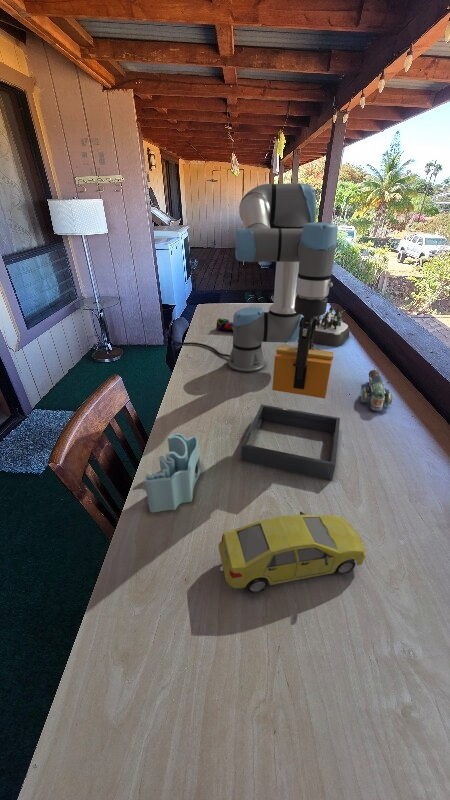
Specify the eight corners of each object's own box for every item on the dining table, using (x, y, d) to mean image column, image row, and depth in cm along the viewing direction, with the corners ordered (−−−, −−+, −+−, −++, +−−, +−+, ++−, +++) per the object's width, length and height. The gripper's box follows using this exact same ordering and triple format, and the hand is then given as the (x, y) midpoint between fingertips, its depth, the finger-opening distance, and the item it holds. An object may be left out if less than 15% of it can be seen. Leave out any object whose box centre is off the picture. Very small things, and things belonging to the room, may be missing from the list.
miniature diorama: (351, 335, 176) (358, 301, 168) (339, 348, 162) (346, 311, 153) (313, 327, 186) (318, 295, 177) (299, 339, 171) (303, 304, 162)
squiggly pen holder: (190, 515, 79) (188, 484, 74) (148, 512, 80) (142, 482, 75) (202, 462, 94) (201, 434, 90) (166, 459, 95) (163, 432, 90)
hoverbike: (360, 410, 116) (365, 389, 112) (358, 377, 136) (362, 358, 132) (391, 415, 114) (398, 393, 109) (384, 380, 134) (390, 361, 130)
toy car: (372, 576, 66) (385, 542, 61) (229, 608, 61) (229, 574, 56) (341, 525, 76) (350, 492, 71) (216, 549, 71) (215, 516, 66)
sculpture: (273, 329, 171) (216, 320, 178) (272, 339, 173) (215, 329, 180) (276, 326, 179) (221, 317, 186) (275, 335, 181) (220, 326, 188)
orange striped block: (271, 390, 95) (274, 353, 89) (277, 377, 101) (280, 342, 95) (325, 398, 91) (332, 361, 85) (328, 385, 97) (334, 349, 91)
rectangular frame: (241, 460, 95) (241, 445, 92) (260, 417, 113) (261, 404, 110) (332, 480, 88) (335, 465, 86) (337, 431, 106) (340, 417, 104)
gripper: (323, 309, 73) (310, 402, 85) (331, 287, 90) (319, 367, 102) (288, 306, 76) (280, 396, 88) (302, 284, 92) (293, 363, 104)
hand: (301, 380), depth 95 cm, fingers closed on orange striped block, 7 cm apart
